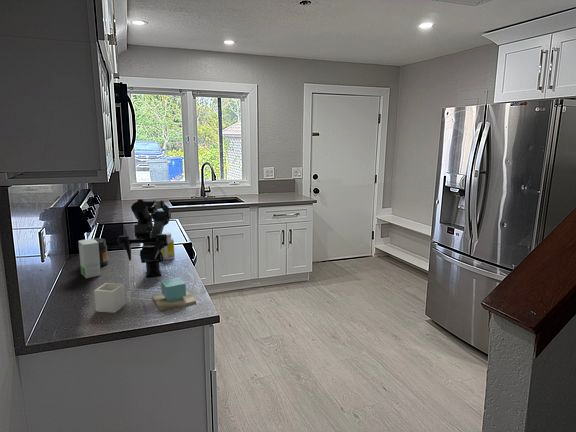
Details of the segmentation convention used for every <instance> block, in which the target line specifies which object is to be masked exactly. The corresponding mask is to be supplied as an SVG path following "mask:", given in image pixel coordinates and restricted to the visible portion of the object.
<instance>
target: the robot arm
mask: <svg viewBox="0 0 576 432" xmlns="http://www.w3.org/2000/svg"><path fill="white" fill-rule="evenodd" d="M164 201H165V200H162V199H160V200H159V199H154V200H153V199H151V200H149V199H147V200H145V199H141V198H140V199H137V201H135V202H133V203H132V205H131V207H130V208H131V211H132V213H133V216H134V217H135V219H136V220H137V223H136V224H133V225H134V226H133V232H134V237H136V238H130V235H119V236H118V238H117V244H118V247H119V248H121V249H123V250H124V251H126V254H127V257H128V260H129V262H131V260H132V246H131V245H132V244H142V246H141V249H140V251H139V258H140V263H141V264H145V268H146V269H145V278H153V277H160V276H162V270H161V268H160V266H161V265H160V264H161V263H163V262H164V261H165V260H164V258H163V253H162V251H161V249H162V248H164V247H165V246H168V238H167V235H166V234H162V233H164V227H165V226H167V225H168V224H169V223H170V220H171V219H172V213H171V210H170V207H169V206H168V205H166V203H165V202H164Z"/></svg>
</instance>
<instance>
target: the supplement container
mask: <svg viewBox="0 0 576 432" xmlns="http://www.w3.org/2000/svg"><path fill="white" fill-rule="evenodd" d="M93 239H94V240H96V241H97V242H98V243H99V257H100V268H102V267H103V266H105V265H107V264H108V263H109V256H108V245H107V244H106V239H105V238H102V237H101V238H99V237H96V238H93Z"/></svg>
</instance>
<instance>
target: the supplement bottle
mask: <svg viewBox="0 0 576 432" xmlns="http://www.w3.org/2000/svg"><path fill="white" fill-rule="evenodd" d="M162 234H166V235H167V238H168V246H165V247H164V248H162V249H161V251H162V253H163V258H164V261H165V260H167V261H169V260H173V259H174V258H176V257H175V256H176V255H175V242H174V239H173V238H172V233H170V232H162Z"/></svg>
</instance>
